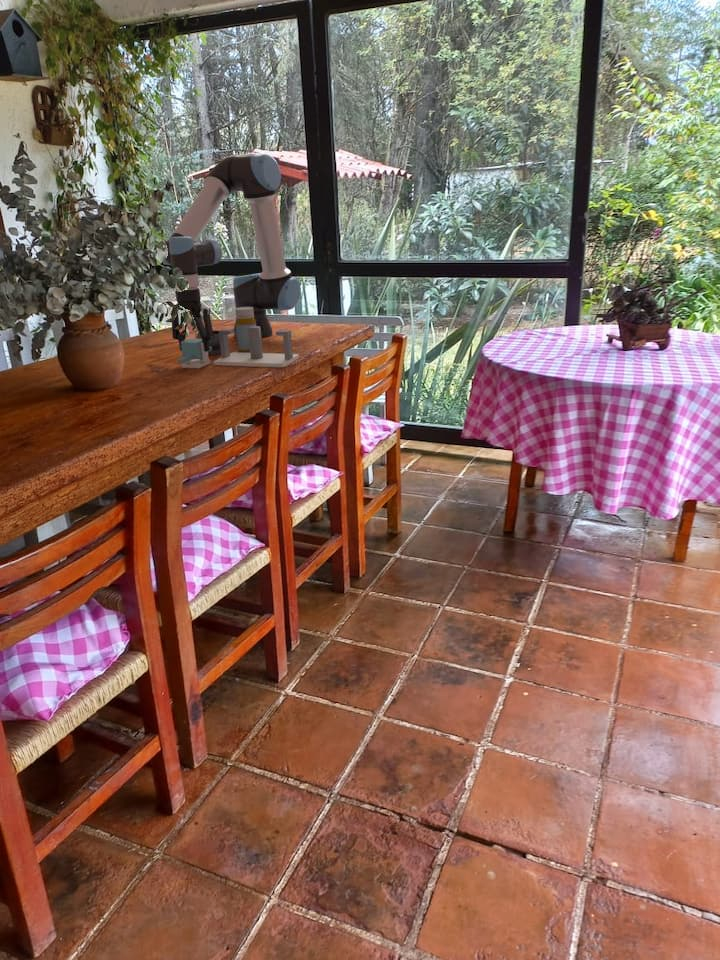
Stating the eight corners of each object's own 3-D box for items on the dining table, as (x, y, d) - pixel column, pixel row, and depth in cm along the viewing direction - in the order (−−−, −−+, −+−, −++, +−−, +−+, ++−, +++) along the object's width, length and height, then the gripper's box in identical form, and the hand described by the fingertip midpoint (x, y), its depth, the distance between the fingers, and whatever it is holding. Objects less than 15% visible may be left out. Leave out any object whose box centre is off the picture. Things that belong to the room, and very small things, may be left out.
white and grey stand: (233, 355, 240) (229, 322, 235) (299, 357, 233) (297, 324, 229) (214, 365, 227) (210, 330, 223) (283, 367, 221) (280, 332, 216)
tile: (194, 362, 232) (194, 359, 232) (210, 362, 231) (210, 359, 230) (182, 367, 225) (182, 364, 225) (198, 368, 224) (198, 365, 223)
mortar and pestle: (231, 349, 250) (227, 315, 245) (221, 355, 241) (217, 320, 237) (201, 349, 252) (197, 315, 247) (191, 355, 244) (186, 320, 239)
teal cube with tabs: (172, 362, 219) (169, 346, 217) (201, 350, 236) (199, 334, 234) (189, 363, 218) (186, 346, 216) (217, 350, 235) (215, 335, 233)
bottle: (254, 353, 242) (250, 309, 236) (235, 353, 243) (231, 309, 238) (261, 349, 248) (257, 306, 242) (242, 349, 250) (238, 306, 244)
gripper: (153, 289, 218) (164, 362, 227) (208, 290, 213) (217, 364, 222) (166, 286, 225) (176, 357, 234) (220, 286, 219) (228, 359, 228)
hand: (196, 360), depth 228 cm, fingers open, 6 cm apart
